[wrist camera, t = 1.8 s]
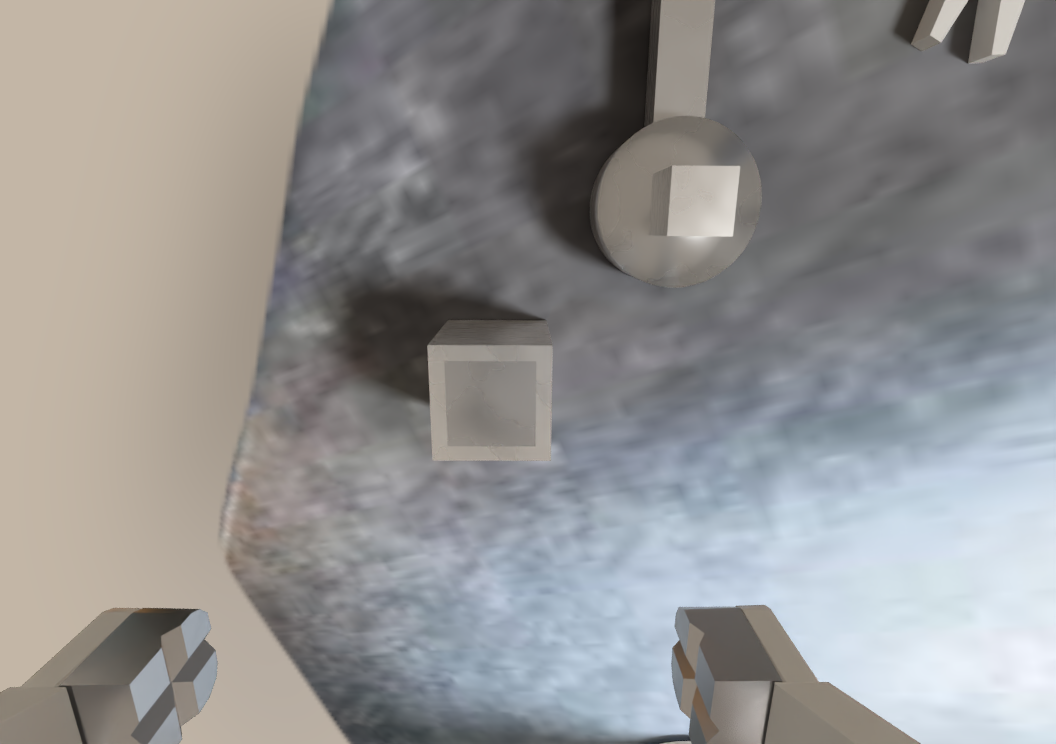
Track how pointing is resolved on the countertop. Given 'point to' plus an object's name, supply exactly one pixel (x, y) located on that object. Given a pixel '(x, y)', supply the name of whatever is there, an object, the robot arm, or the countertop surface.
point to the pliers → (991, 26)
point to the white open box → (491, 390)
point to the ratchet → (677, 167)
